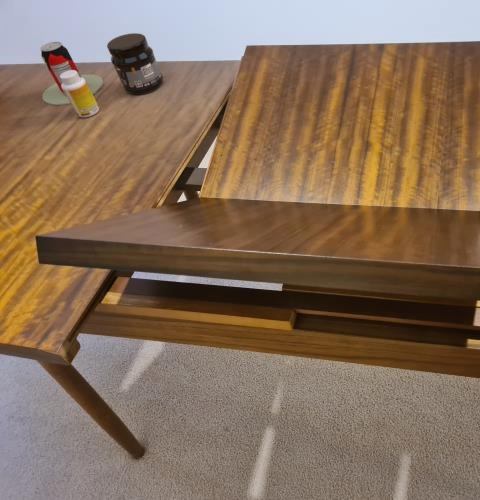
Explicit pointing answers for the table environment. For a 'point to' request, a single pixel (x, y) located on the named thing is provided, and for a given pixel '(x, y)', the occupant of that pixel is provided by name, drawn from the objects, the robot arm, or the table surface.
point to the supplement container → (135, 63)
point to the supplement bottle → (79, 94)
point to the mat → (59, 98)
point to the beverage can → (57, 60)
